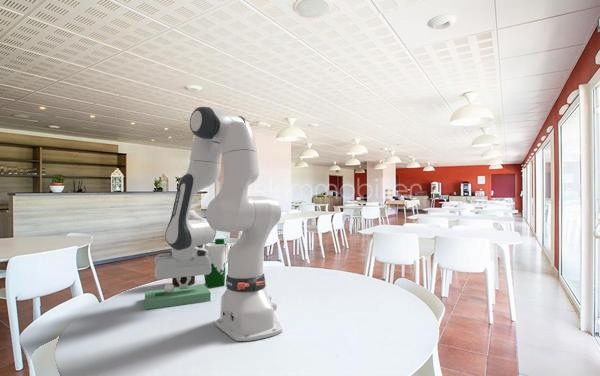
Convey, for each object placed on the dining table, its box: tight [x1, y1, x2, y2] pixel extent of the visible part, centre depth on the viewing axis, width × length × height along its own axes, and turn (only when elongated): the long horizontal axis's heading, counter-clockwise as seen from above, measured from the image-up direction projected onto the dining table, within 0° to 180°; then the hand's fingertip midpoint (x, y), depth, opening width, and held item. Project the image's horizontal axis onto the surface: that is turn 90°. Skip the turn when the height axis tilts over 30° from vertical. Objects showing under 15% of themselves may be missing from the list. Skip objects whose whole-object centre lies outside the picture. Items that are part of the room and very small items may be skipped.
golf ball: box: [163, 282, 175, 293], centre depth 120 cm, size 4×4×4 cm
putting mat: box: [144, 283, 212, 311], centre depth 121 cm, size 22×13×3 cm, turn 117°
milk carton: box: [203, 238, 227, 288], centre depth 143 cm, size 9×9×20 cm
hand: (183, 288), depth 123 cm, fingers closed
